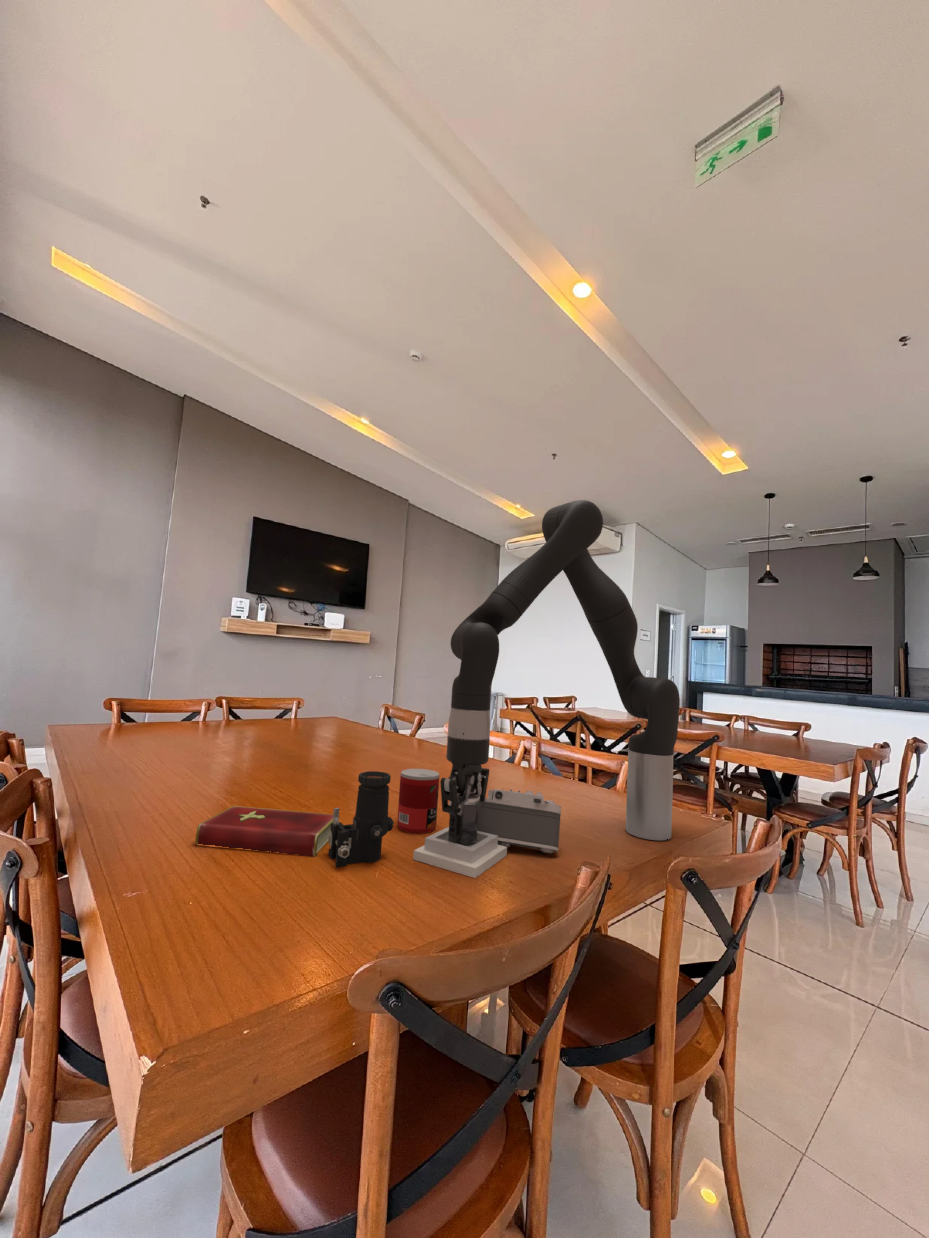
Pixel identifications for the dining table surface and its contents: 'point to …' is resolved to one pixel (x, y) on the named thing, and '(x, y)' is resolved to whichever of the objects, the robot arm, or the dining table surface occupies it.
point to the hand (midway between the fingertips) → (463, 832)
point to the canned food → (418, 800)
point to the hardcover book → (267, 830)
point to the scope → (363, 823)
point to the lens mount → (461, 853)
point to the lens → (468, 821)
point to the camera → (521, 819)
